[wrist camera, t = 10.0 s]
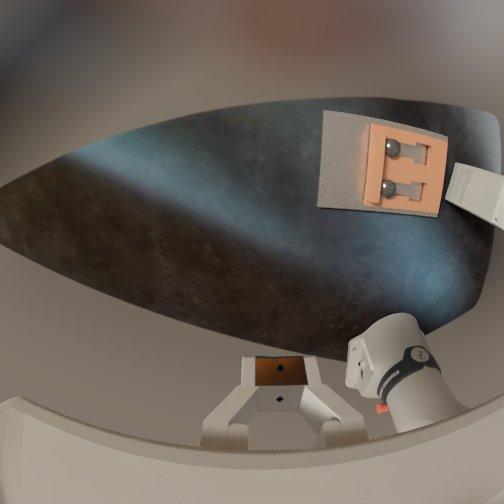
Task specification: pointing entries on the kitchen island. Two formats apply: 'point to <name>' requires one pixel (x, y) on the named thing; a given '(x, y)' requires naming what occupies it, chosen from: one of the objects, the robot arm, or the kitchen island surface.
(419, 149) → the boss plate
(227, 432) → the robot arm
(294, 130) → the kitchen island surface
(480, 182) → the supplement box
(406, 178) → the panel
